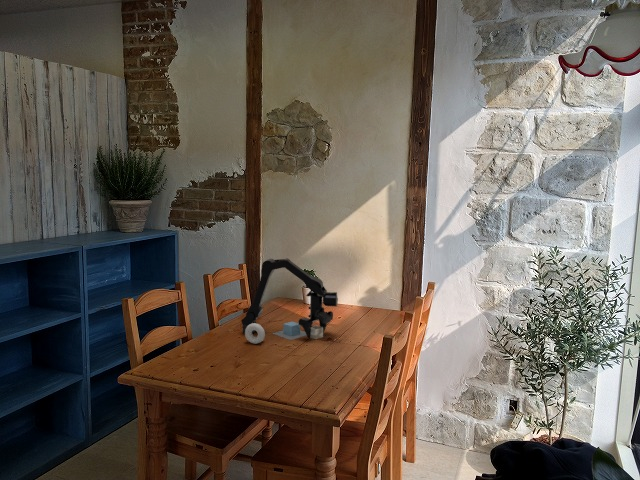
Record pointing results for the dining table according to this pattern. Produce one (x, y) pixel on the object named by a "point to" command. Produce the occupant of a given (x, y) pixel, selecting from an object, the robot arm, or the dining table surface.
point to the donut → (259, 330)
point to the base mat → (290, 336)
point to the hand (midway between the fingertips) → (315, 336)
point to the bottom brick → (291, 328)
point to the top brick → (316, 332)
